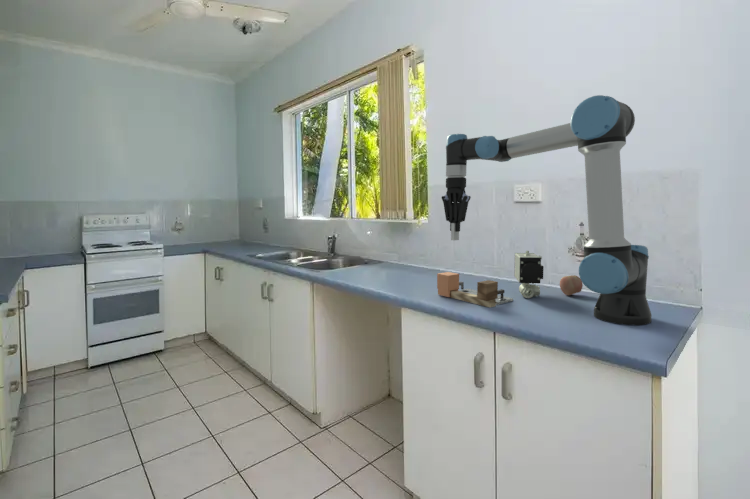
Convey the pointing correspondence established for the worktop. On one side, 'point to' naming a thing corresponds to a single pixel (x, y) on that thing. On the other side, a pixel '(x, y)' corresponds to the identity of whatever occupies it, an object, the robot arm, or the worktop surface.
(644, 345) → the worktop surface
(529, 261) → the ball valve
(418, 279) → the worktop surface
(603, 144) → the robot arm
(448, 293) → the block
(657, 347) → the worktop surface
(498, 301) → the flange strip
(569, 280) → the tan rounded lump
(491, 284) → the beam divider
